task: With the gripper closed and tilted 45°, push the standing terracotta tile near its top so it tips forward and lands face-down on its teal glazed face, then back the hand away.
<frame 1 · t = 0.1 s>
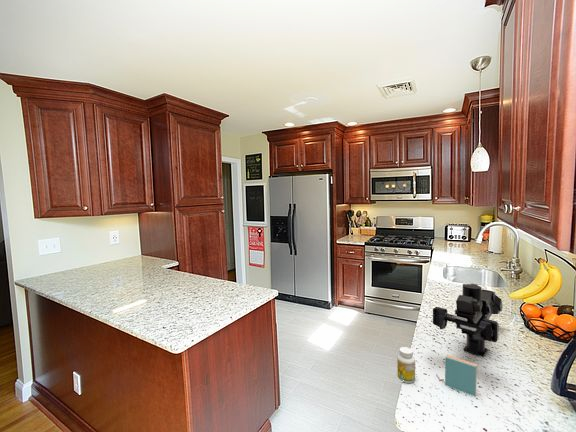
hand: (456, 332, 88), 17 cm above the countertop, tool horizontal, fingers open, 9 cm apart
tile: (460, 388, 86), on the countertop
supplement bottle: (406, 378, 92), on the countertop
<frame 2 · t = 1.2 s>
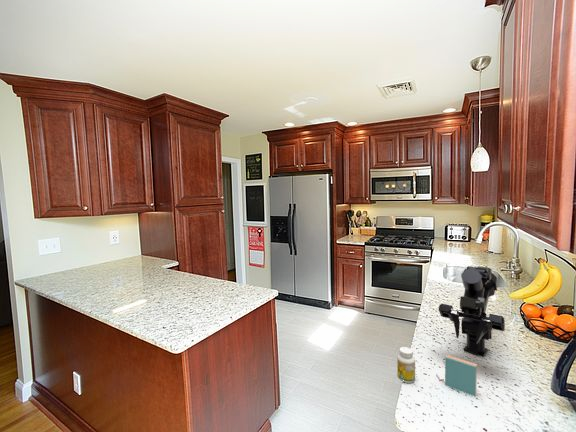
hand: (466, 340, 92), 12 cm above the countertop, tool tilted 45°, fingers open, 5 cm apart
nothing on the countertop moved.
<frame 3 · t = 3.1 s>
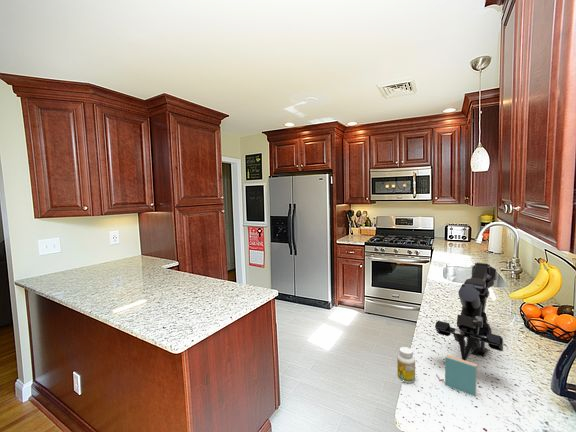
hand: (463, 360, 89), 7 cm above the countertop, tool tilted 45°, fingers closed
nothing on the countertop moved.
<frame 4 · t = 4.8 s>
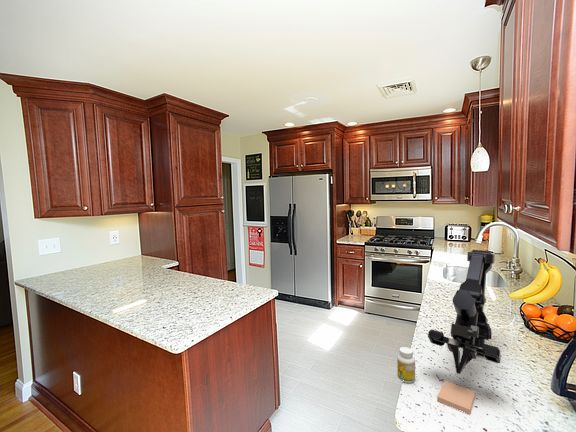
hand: (458, 373, 83), 7 cm above the countertop, tool tilted 45°, fingers closed
tile: (459, 389, 85), on the countertop, tilted 90°
everything else where it was.
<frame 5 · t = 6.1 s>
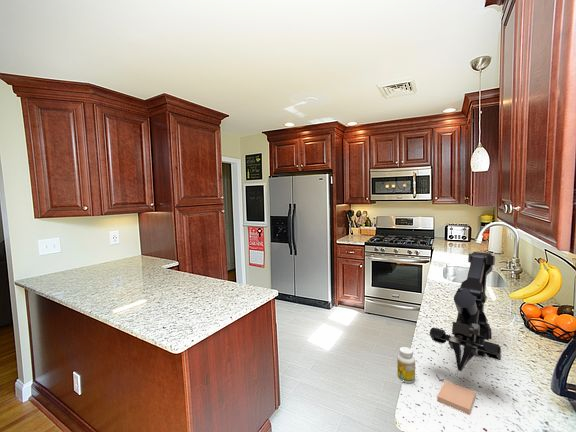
hand: (459, 370, 84), 7 cm above the countertop, tool tilted 45°, fingers closed
nothing on the countertop moved.
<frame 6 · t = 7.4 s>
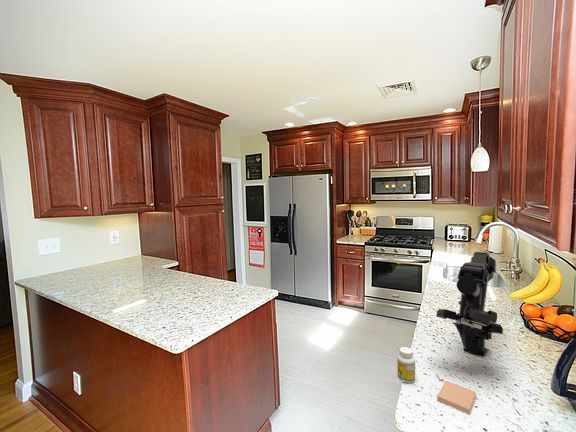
hand: (466, 348, 92), 9 cm above the countertop, tool tilted 25°, fingers closed
nothing on the countertop moved.
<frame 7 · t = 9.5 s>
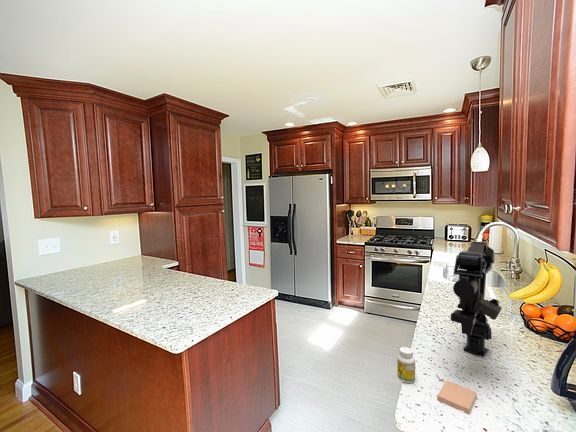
hand: (468, 335, 95), 12 cm above the countertop, tool pointing down, fingers closed
nothing on the countertop moved.
at the end: tile tilted 90°; tile 2.0 cm from the target spot, point 0.5 cm above the countertop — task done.
